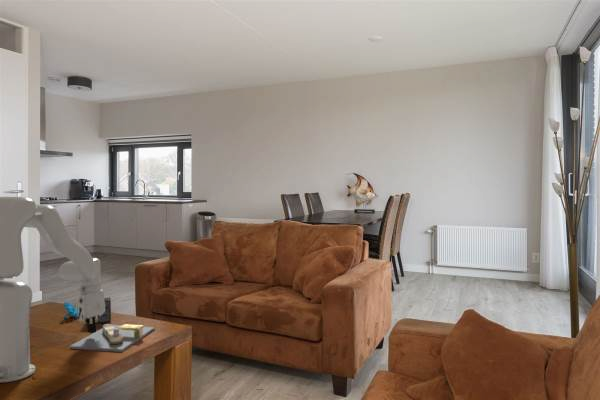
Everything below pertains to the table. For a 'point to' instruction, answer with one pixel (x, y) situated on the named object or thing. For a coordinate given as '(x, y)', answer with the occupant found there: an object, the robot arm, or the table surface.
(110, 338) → the link
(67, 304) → the blue irregular piece
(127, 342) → the board
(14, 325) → the robot arm
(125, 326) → the keeper
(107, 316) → the small box
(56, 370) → the table surface
